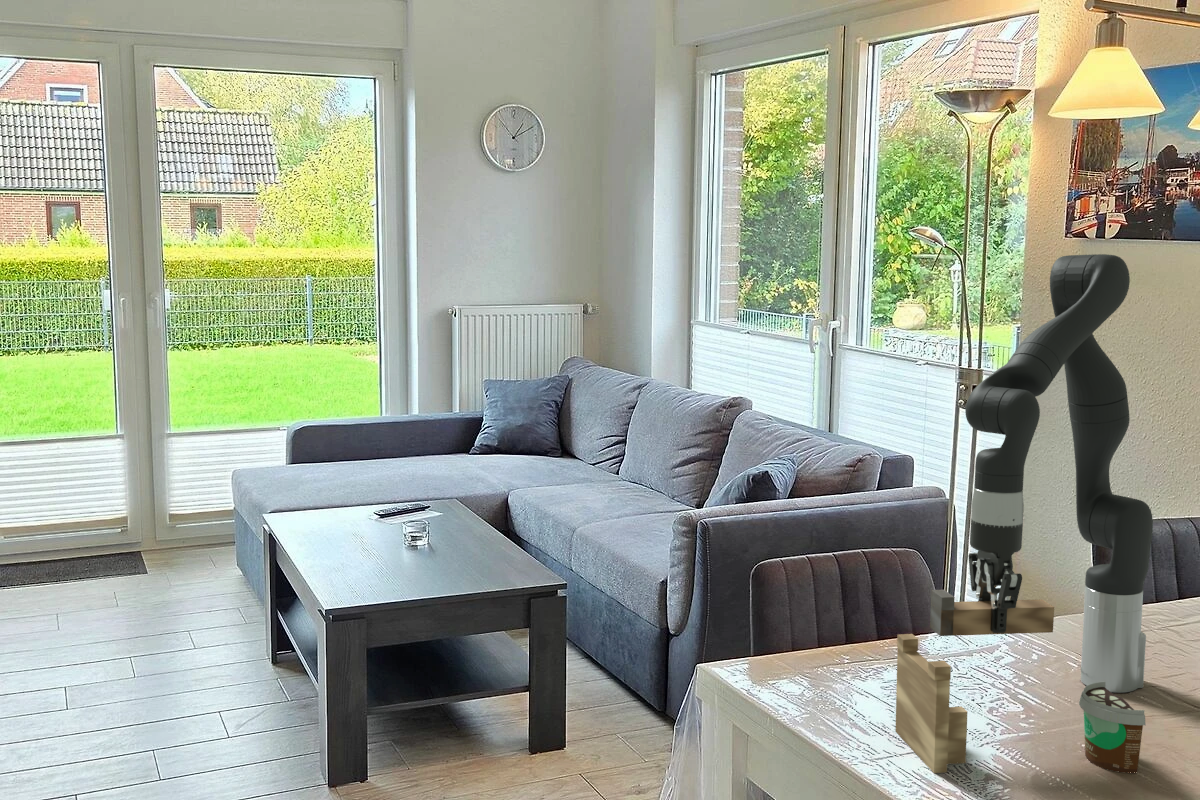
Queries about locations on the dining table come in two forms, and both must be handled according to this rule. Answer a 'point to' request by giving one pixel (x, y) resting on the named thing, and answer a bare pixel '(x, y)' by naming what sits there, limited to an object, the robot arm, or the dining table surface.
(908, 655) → the wooden post stand
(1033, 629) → the rail
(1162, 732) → the dining table surface
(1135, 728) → the food container
